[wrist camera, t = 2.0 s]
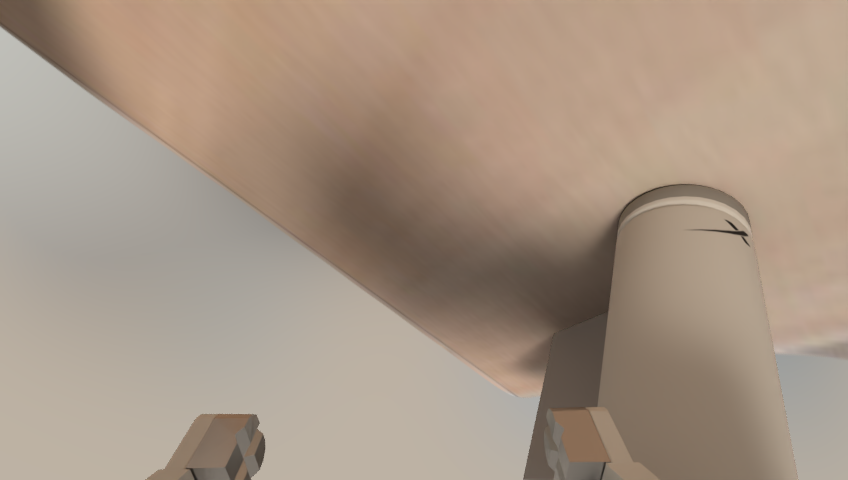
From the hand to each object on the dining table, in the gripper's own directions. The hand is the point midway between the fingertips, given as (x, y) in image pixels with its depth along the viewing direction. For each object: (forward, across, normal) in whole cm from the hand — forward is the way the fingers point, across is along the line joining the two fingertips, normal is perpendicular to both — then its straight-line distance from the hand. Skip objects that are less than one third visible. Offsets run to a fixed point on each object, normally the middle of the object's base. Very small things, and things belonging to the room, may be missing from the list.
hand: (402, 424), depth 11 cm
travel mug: (+13, +15, 0) cm, 20 cm away
